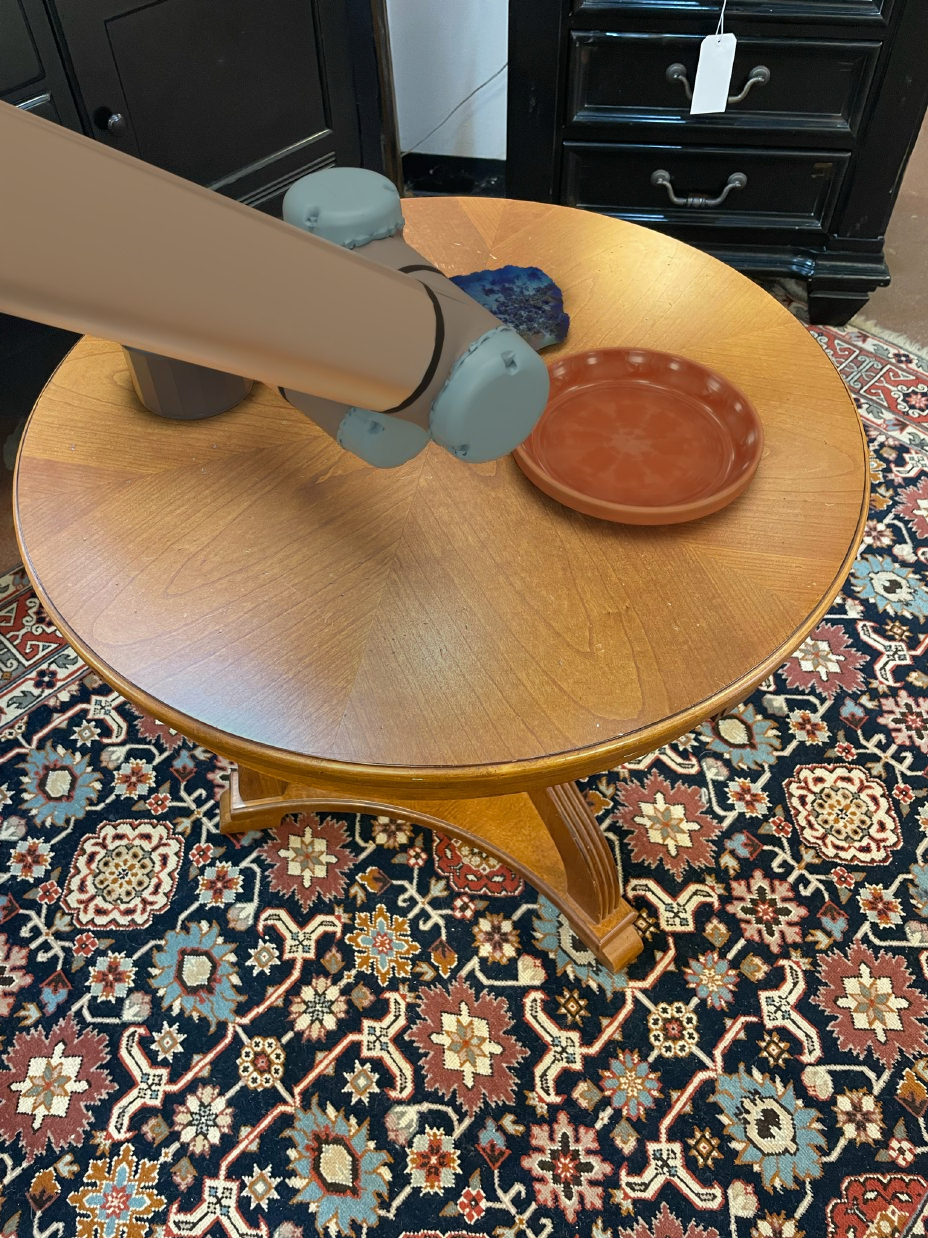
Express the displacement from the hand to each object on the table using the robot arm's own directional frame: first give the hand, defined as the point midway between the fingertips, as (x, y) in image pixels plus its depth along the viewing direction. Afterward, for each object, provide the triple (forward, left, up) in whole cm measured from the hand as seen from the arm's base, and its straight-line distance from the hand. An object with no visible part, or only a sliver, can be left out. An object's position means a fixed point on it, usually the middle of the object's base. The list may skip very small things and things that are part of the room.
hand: (143, 236), depth 85 cm
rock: (+32, +3, -15) cm, 36 cm away
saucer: (+40, -21, -15) cm, 48 cm away
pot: (+1, -2, -15) cm, 15 cm away
